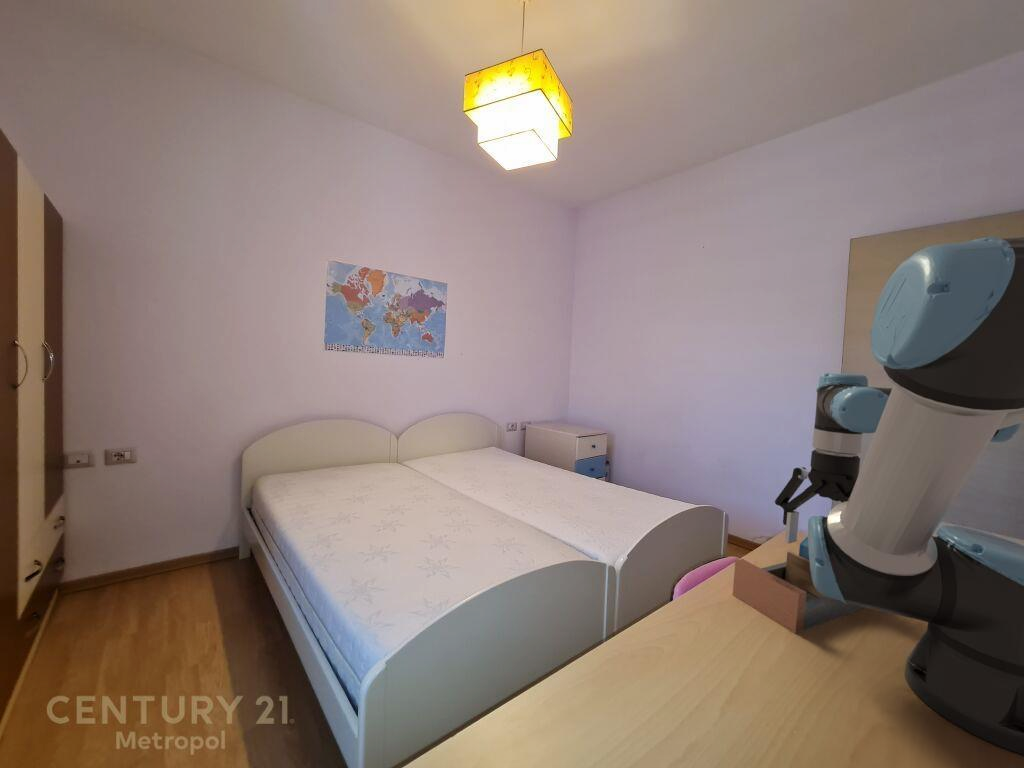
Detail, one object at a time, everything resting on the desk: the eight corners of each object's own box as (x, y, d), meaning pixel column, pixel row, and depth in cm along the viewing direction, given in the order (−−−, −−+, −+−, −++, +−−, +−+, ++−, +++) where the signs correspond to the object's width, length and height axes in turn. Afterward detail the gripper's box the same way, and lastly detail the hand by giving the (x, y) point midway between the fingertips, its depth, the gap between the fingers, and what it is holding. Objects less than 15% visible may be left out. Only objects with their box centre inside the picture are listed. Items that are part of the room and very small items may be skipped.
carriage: (869, 592, 81) (872, 563, 81) (833, 605, 76) (836, 574, 76) (820, 570, 89) (823, 543, 89) (784, 580, 84) (787, 551, 84)
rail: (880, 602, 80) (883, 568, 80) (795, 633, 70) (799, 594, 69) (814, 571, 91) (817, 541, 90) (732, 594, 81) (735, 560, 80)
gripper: (929, 467, 70) (916, 586, 72) (784, 438, 93) (775, 528, 95) (906, 470, 67) (893, 594, 69) (762, 439, 90) (754, 533, 92)
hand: (825, 556), depth 82 cm, fingers open, 13 cm apart
